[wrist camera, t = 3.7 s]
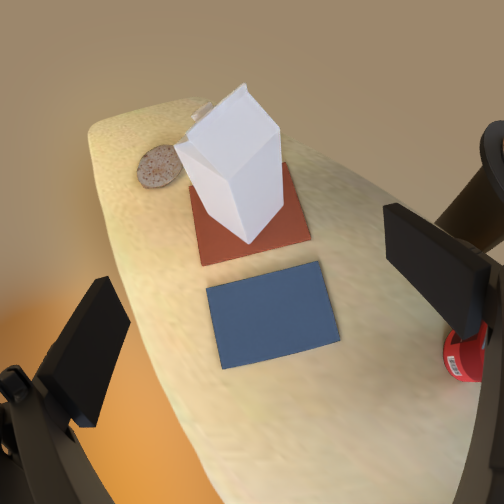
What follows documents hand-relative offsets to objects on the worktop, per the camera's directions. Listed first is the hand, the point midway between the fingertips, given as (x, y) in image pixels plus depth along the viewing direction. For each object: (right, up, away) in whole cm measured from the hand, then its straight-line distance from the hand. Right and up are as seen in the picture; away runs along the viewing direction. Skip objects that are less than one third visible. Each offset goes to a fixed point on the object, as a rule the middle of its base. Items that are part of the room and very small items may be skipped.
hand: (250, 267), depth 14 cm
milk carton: (-1, +6, +28) cm, 28 cm away
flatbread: (-14, +13, +32) cm, 37 cm away
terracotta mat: (-1, +6, +28) cm, 29 cm away
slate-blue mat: (+2, -7, +23) cm, 24 cm away
